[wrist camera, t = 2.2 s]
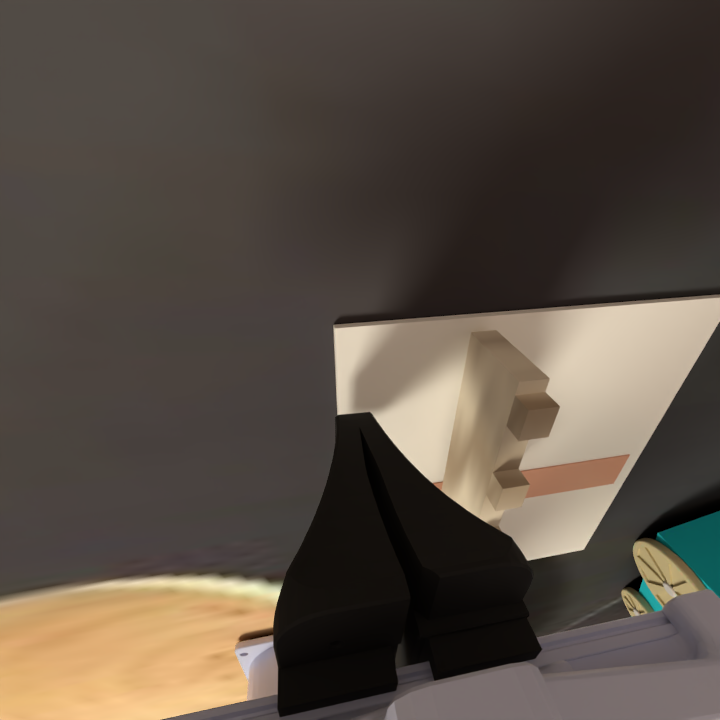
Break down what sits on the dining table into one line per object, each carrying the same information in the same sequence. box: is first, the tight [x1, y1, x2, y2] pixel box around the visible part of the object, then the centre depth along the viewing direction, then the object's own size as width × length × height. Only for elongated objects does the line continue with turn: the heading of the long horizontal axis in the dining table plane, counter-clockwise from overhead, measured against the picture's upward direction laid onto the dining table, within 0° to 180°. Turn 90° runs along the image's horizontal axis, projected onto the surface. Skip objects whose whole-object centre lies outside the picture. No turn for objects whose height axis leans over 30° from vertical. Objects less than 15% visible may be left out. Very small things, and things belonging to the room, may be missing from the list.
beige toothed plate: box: [441, 330, 560, 531], centre depth 14 cm, size 9×1×4 cm, turn 0°
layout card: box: [333, 294, 720, 561], centre depth 19 cm, size 19×17×1 cm
